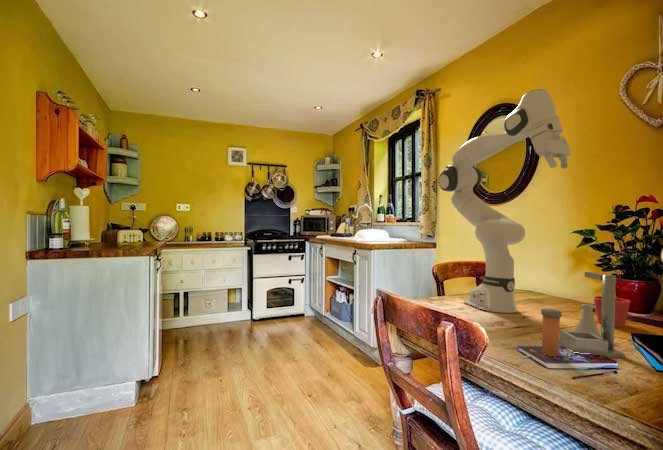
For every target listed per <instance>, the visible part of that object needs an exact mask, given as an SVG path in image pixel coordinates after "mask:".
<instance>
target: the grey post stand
mask: <svg viewBox="0 0 663 450" xmlns="http://www.w3.org/2000/svg"><path fill="white" fill-rule="evenodd" d="M584 278H588V279H593V280H597V281H602V282H601V283H602V284H601V296H602V313H601V323H600V336H601V337H598V336H596V335H594V334H592V333H590V332H578V331H574V330H563V329H562V330H561V329H560V332H559V346H561V347H562V346H564V347H566V348H568V349H570V350H572V351H573V352H579V353H593V354H597V355H600V356H599V357H608V358H621V359H622V358H623V359H625V358H626V354H625V353H623V352H621V350H619V349H616V348H615V326H614V324H615V298H616V284H617V283H616V280H617V279H616V278H617V276H616V275H614V274H613V275H611V274H603V273H599V272H593V271H584ZM564 347H563V348H564Z"/></svg>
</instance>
